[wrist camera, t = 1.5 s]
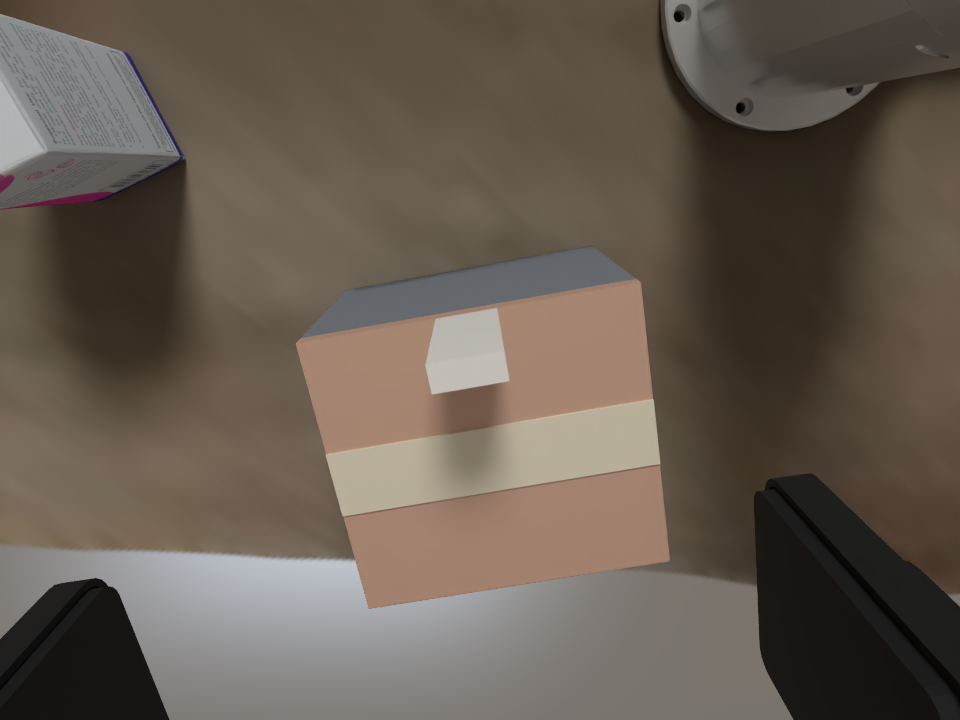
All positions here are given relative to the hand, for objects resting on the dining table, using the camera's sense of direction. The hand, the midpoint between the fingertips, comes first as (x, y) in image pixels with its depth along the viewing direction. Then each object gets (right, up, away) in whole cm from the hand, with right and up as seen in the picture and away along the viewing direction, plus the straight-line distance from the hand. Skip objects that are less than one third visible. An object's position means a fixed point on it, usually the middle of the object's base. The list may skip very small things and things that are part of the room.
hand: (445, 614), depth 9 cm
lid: (+1, 0, +19) cm, 19 cm away
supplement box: (-19, +16, +25) cm, 35 cm away
